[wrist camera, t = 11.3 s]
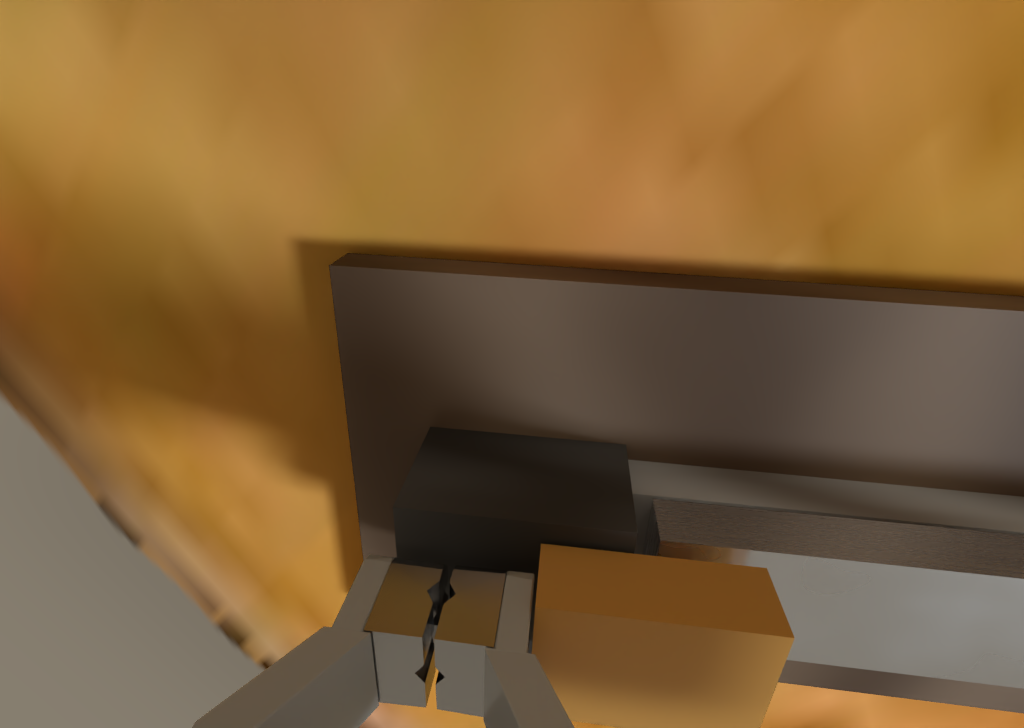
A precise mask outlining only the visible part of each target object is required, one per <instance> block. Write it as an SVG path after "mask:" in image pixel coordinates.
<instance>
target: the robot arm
mask: <svg viewBox="0 0 1024 728" xmlns="http://www.w3.org/2000/svg"><path fill="white" fill-rule="evenodd" d="M447 581H448V567H447V565H445V564H438V563H431V562H425V561H418V560H411V559H404V558H397V557H387V556H380V555H373V554H369V555H368V556H367V558H366V559H365V560H364V561H363V563H362V565H361V567H360V569H359V571H358V574H357V576H356V578H355V580H354V582H353V584H352V586H351V588H350V590H349V592H348V594H347V597H346V599H345V601H344V603H343V605H342V607H341V609H340V611H339V613H338V615H337V618H336V620H335V622H334V624H333V626H332V627H323V628H321V629H320V630H319V631H317V632H316V633H315V634H313V635H312V636H310V637H309V638H308V639H306V640H305V641H304V642H302V643H301V644H300V645H298V646H297V647H296V648H294V649H293V650H292V651H290V652H289V653H288V654H286V655H285V656H283V657H282V658H281V659H279V660H278V661H277V662H275V663H274V664H273V665H271V666H270V667H269V668H267V669H266V670H265V671H263V672H262V673H261V674H260V675H258V676H256V677H255V678H254V679H252V680H251V681H250V682H248V683H247V684H246V685H244V686H243V687H242V688H240V689H239V690H238V691H236V692H235V693H234V694H232V695H231V696H230V697H228V698H227V699H225V700H224V701H223V702H221V703H220V704H219V705H217V706H216V707H215V708H213V709H212V710H211V711H209V712H208V713H207V714H205V715H204V716H203V717H201V718H200V719H199V720H197V721H196V722H195V724H194V725H193V727H192V728H359V726H360V725H361V724H362V723H363V722H364V721H365V720H366V719H367V718H368V717H369V716H370V715H371V713H372V712H373V711H374V710H375V709H376V708H377V707H378V706H379V703H378V702H382V703H391V704H400V705H409V706H418V707H426V706H427V702H428V698H429V694H430V690H431V687H432V683H433V679H434V675H435V667H436V668H437V669H438V670H439V673H438V677H437V681H436V699H437V709H440V710H446V711H451V712H457V713H463V714H469V715H475V716H480V717H484V723H485V725H486V728H574V726H573V724H572V722H571V721H570V719H569V717H568V715H567V713H566V711H565V709H564V707H563V706H562V704H561V702H560V700H559V698H558V696H557V694H556V693H555V691H554V689H553V687H552V685H551V683H550V681H549V679H548V678H547V676H546V674H545V672H544V670H543V668H542V666H541V664H540V663H539V661H538V659H537V657H536V655H535V654H530V653H529V642H530V629H531V616H532V603H533V590H534V574H532V573H523V572H514V571H508V572H507V570H498V569H488V568H479V567H470V566H460V565H456V566H455V568H454V569H453V572H452V576H451V579H450V599H449V596H448V594H447V593H446V592H445V588H446V585H447Z"/></svg>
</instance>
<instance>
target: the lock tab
mask: <svg viewBox="0 0 1024 728" xmlns="http://www.w3.org/2000/svg"><path fill="white" fill-rule="evenodd" d="M794 639H795V638H794V635H793V633H792V630H791V628H790V625H789V623H788V620H787V618H786V615H785V613H784V610H783V607H782V605H781V602H780V600H779V597H778V595H777V592H776V590H775V587H774V585H773V582H772V580H771V577H770V575H769V572H768V570H767V568H761V567H752V566H743V565H734V564H725V563H715V562H706V561H697V560H688V559H679V558H670V557H660V556H651V555H642V554H633V553H624V552H615V551H605V550H596V549H587V548H578V547H569V546H560V545H550V544H541V549H540V560H539V571H538V582H537V593H536V604H535V616H534V630H533V643H532V654H535V655H536V657H537V659H538V661H539V663H540V664H541V666H542V668H543V670H544V672H545V674H546V676H547V678H548V679H549V681H550V683H551V685H552V687H553V689H554V691H555V693H556V694H557V696H558V698H559V700H560V702H561V704H562V706H563V707H564V709H565V711H566V713H567V715H568V717H569V719H570V721H576V722H584V723H591V724H598V725H606V726H613V727H620V728H760V727H761V724H762V722H763V719H764V716H765V714H766V711H767V709H768V706H769V703H770V701H771V698H772V696H773V693H774V691H775V688H776V685H777V683H778V680H779V678H780V675H781V672H782V670H783V667H784V665H785V662H786V660H787V657H788V654H789V652H790V649H791V647H792V644H793V641H794Z"/></svg>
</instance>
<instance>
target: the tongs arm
mask: <svg viewBox="0 0 1024 728" xmlns="http://www.w3.org/2000/svg"><path fill="white" fill-rule="evenodd" d="M642 555H651V556H660V557H670V558H679V559H688V560H697V561H706V562H715V563H725V564H734V565H743V566H752V567H761V568H767V570H768V572H769V575H770V577H771V580H772V582H773V585H774V587H775V590H776V592H777V595H778V597H779V600H780V602H781V605H782V607H783V610H784V613H785V615H786V618H787V620H788V623H789V625H790V628H791V630H792V633H793V635H794V638H795V639H794V641H793V644H792V647H791V649H790V652H789V654H788V657H787V660H792V661H800V662H808V663H817V664H825V665H833V666H841V667H849V668H858V669H866V670H874V671H882V672H891V673H899V674H907V675H915V676H923V677H932V678H940V679H948V680H956V681H965V682H973V683H981V684H989V685H997V686H1006V687H1014V688H1022V689H1024V535H1016V534H1006V533H996V532H986V531H976V530H966V529H955V528H945V527H935V526H925V525H915V524H905V523H895V522H885V521H875V520H865V519H854V518H844V517H834V516H824V515H814V514H804V513H794V512H784V511H774V510H764V509H753V508H743V507H733V506H723V505H713V504H703V503H693V502H683V501H673V500H662V499H653V500H652V505H651V511H650V516H649V522H648V527H647V532H646V538H645V543H644V548H643V554H642Z"/></svg>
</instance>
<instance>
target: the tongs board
mask: <svg viewBox="0 0 1024 728" xmlns="http://www.w3.org/2000/svg"><path fill="white" fill-rule="evenodd" d="M329 268H330V277H331V286H332V294H333V303H334V311H335V320H336V328H337V337H338V346H339V354H340V363H341V371H342V380H343V388H344V397H345V406H346V414H347V423H348V431H349V440H350V448H351V457H352V466H353V474H354V483H355V491H356V500H357V508H358V517H359V526H360V534H361V543H362V551H363V560H365V559H366V558H367V556H368V555H369V554H373V555H380V556H387V557H397V558H404V559H411V560H418V561H425V562H431V563H438V564H445V565H447V567H448V581H447V585H446V588H445V592H446V593H447V594H448V596H449V599H450V579H451V576H452V572H453V569H454V568H455V566H456V565H460V566H470V567H479V568H488V569H498V570H507V572H508V571H514V572H523V573H532V574H534V590H533V603H532V616H531V629H530V642H529V653H530V654H532V643H533V630H534V616H535V604H536V593H537V582H538V571H539V560H540V549H541V544H550V545H560V546H569V547H578V548H587V549H596V550H605V551H615V552H624V553H633V554H643V548H644V543H645V538H646V532H647V527H648V522H649V516H650V511H651V505H652V500H653V499H662V500H673V501H683V502H693V503H703V504H713V505H723V506H733V507H743V508H753V509H764V510H774V511H784V512H794V513H804V514H814V515H824V516H834V517H844V518H854V519H865V520H875V521H885V522H895V523H905V524H915V525H925V526H935V527H945V528H955V529H966V530H976V531H986V532H996V533H1006V534H1016V535H1024V297H1023V296H1008V295H992V294H976V293H961V292H945V291H930V290H914V289H898V288H883V287H867V286H851V285H836V284H820V283H805V282H789V281H773V280H758V279H742V278H727V277H711V276H695V275H680V274H664V273H648V272H633V271H617V270H602V269H586V268H570V267H555V266H539V265H523V264H508V263H492V262H477V261H461V260H445V259H430V258H414V257H399V256H383V255H367V254H352V253H347V254H346V255H344V256H343V257H341V258H340V259H338V260H337V261H335V262H334V263H332V264H330V265H329ZM778 682H781V683H789V684H797V685H805V686H813V687H820V688H828V689H836V690H844V691H852V692H860V693H868V694H876V695H884V696H891V697H899V698H907V699H915V700H923V701H931V702H939V703H947V704H954V705H962V706H970V707H978V708H986V709H994V710H1002V711H1010V712H1018V713H1024V689H1022V688H1014V687H1006V686H997V685H989V684H981V683H973V682H965V681H956V680H948V679H940V678H932V677H923V676H915V675H907V674H899V673H891V672H882V671H874V670H866V669H858V668H849V667H841V666H833V665H825V664H817V663H808V662H800V661H792V660H786V662H785V665H784V667H783V670H782V672H781V675H780V678H779V680H778Z"/></svg>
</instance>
